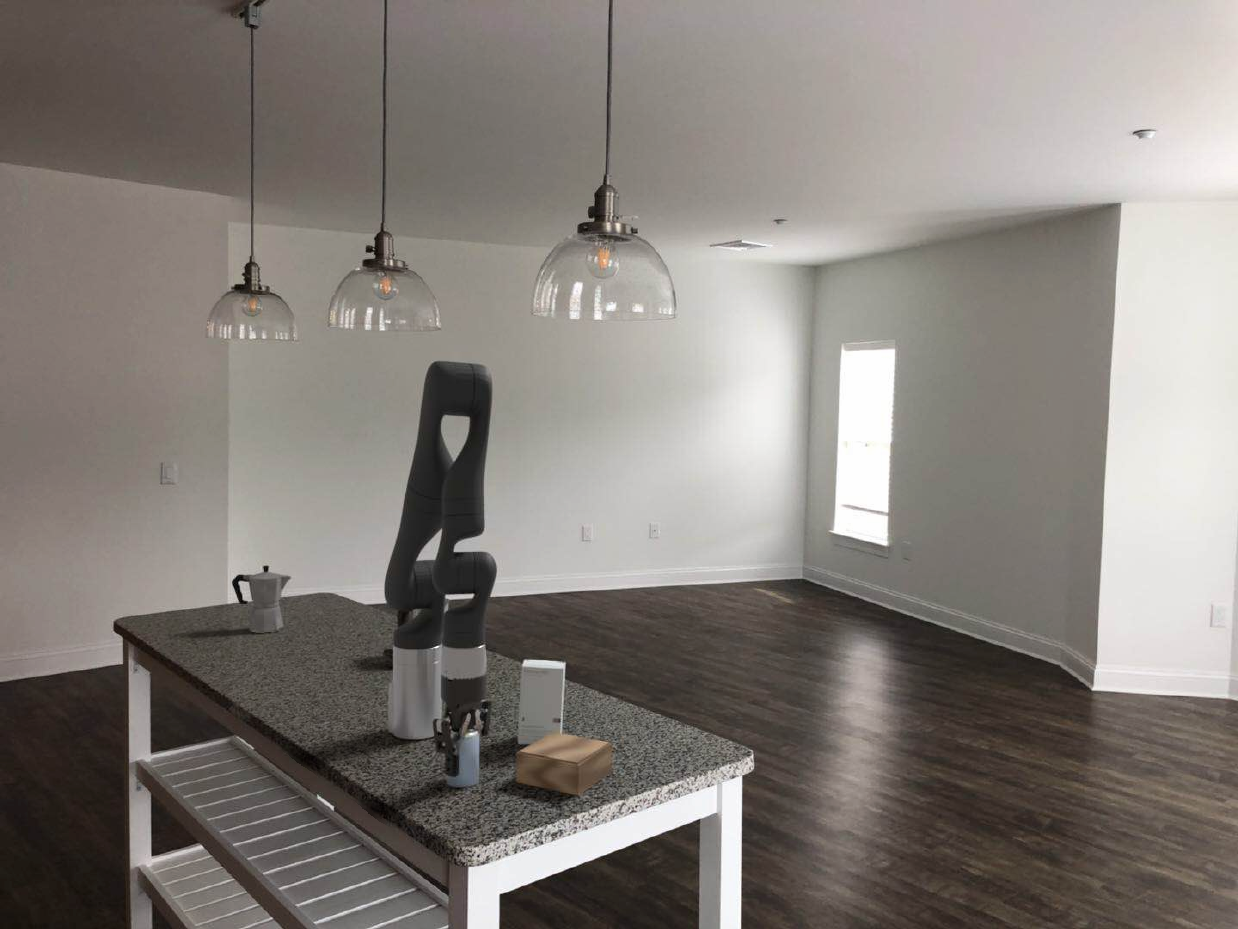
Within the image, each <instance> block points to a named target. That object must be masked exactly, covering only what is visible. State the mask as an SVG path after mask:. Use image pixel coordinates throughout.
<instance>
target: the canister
mask: <svg viewBox="0 0 1238 929" xmlns="http://www.w3.org/2000/svg"><path fill="white" fill-rule="evenodd" d="M451 734H453V735H458V734H459V733H457V732H453V731H452V730H451ZM451 742H452V747H453V746H454V742H455V740H454V739H451ZM458 754H459V775H458V776H456V777H451V776H447V775H446V774H445V775H446V776H445V778H446V780H445V781H446V785H447V786H450V787H453V788H469V787H473V786H475V785H477V784H479V782H480V763H479V733H478V731H477V730H473V729H471V730H467V731H466V734H465V738H464V740H463V741H461V744H460V749H459V753H458Z"/></svg>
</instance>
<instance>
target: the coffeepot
mask: <svg viewBox="0 0 1238 929" xmlns="http://www.w3.org/2000/svg"><path fill="white" fill-rule="evenodd" d="M269 568H270V566H269V565H263V566H262V570H263V571H262V572H259V573H255V574H237V575H236V576H235V577H234V578H233V579H232V581H231V586H232V588H233V591H234V592H235V595H236V598H237V601H238V603H239V604H240V605H248V602H249V601H248V600H244V599H243V596H244V595H243V593H242V591H241V585H240V583H239V582H244V583H245V582H246V583H248V585H249V586H248V587H249V591H250V592H249V593H250V598H251V601H252V602H253V603H252V604H253V607H251V612H250V618H249V623H248V628H250V629H251V630H256V631H268V630H276V629H279V628H281V627H284V622H283V616H282V611H281V606H280V602H279V601H280V600H281V598H282V592H283V590H284V588H285V587H286V585H287V583H288V582H289V580H291V579H292V577H291V576H290V575H286V574H281V573H276V572H271V571H269Z"/></svg>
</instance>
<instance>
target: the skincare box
mask: <svg viewBox="0 0 1238 929" xmlns="http://www.w3.org/2000/svg"><path fill="white" fill-rule="evenodd" d="M566 665H567V664H566V661H558V660H547V659H546V660H543V659H523V662H522V664H521V669H520V670H521V671H520V685H519V686H520V688H519V689H520V691H519V708H518V710H519V711H518V726H517V743H518V745H531V744H533V743H534V742H536V741H538V740H540V739H541V738H543V737H545V736H547V735H548V734H550V733H552V732H556V733H561V734H563V717H564V702H565V701H564V697H565V682H566V681H565V678H566Z"/></svg>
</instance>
